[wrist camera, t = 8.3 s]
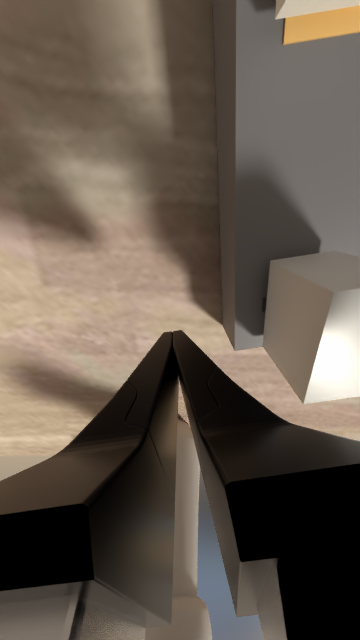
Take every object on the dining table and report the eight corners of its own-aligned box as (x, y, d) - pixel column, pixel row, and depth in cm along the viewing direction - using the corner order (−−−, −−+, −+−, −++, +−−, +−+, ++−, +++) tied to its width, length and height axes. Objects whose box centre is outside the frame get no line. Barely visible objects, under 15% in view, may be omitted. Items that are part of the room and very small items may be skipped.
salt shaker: (136, 415, 20) (95, 698, 8) (193, 408, 20) (231, 682, 8) (148, 447, 22) (130, 689, 11) (198, 440, 22) (231, 677, 11)
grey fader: (334, 250, 9) (438, 276, 6) (313, 338, 12) (375, 393, 8) (270, 260, 9) (333, 292, 6) (262, 345, 12) (303, 404, 8)
